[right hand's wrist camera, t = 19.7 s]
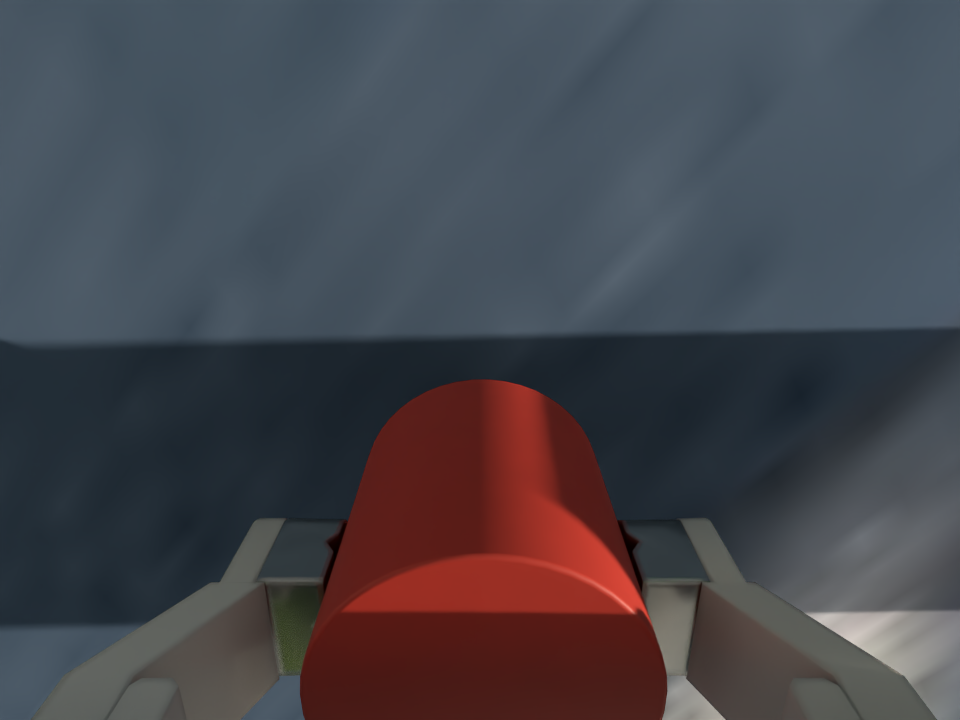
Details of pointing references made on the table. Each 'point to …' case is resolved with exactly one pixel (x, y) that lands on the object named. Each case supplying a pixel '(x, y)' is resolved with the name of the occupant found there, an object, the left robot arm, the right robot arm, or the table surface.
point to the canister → (482, 575)
